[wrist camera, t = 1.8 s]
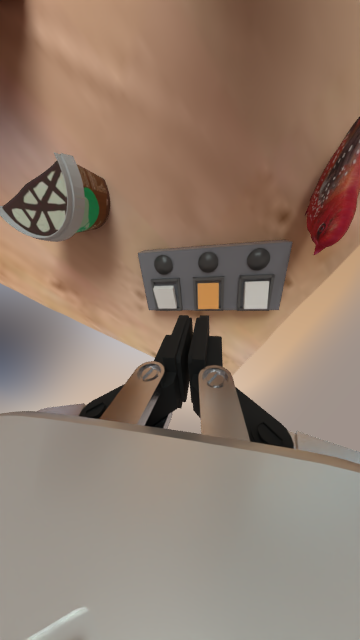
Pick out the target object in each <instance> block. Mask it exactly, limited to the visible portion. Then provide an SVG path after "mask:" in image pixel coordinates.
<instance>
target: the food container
mask: <svg viewBox="0 0 360 640" xmlns="http://www.w3.org/2000/svg"><path fill="white" fill-rule="evenodd" d="M54 154H55V156H56V159H57V161H56V162H55V163H54V164H53V165H52V166H51V167H50V168H49V169H48V170H46V171H45V172H44V173H42V174H41V175H40V176H38V177H36V178H35V179H33V180H32V181H30V182H29V183H27V184H26V185H25V186H24V187H23V188H22V189H21V190H20V192H19V193H18V194H17V195H16V196H15V197H14V198H13V199H11V200H10V201H9V202H8V203H7V204H5V205H4V206H0V216H1V217H2V218H3V219H4V220H5V221H6V222H7V223H9V224H10V225H11V226H12V227H14V228H15V229H16V230H18V231H20V232H22V233H23V234H26V235H28V236H31V237H33V238H36V239H40V240H46V241H56V242H59V241H64V240H66V239H69V238H70V237H72V236H73V235H74V234H75V233H77V232H82V231H87V230H92V229H97V228H99V227H100V226H102V225H103V224H104V223H105V221H106V219H107V217H108V215H109V210H110V197H109V192H108V188H107V185H106V183H105V180H104V179H103V178H101V177H99V176H97V175H96V174H94V173H92V172H90V171H88V170H87V169H85V168H83V167H81V166H79V165H78V164H76V162H75V160H74V157H73V156H70V155H66V154H62V153H61V154H57V153H54Z"/></svg>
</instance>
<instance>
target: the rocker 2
mask: <svg viewBox="0 0 360 640" xmlns="http://www.w3.org/2000/svg"><path fill="white" fill-rule="evenodd" d="M268 291H269V281H253V282H245V284H244V304H243V308H244V309H267V303H268Z"/></svg>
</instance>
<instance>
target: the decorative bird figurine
mask: <svg viewBox="0 0 360 640" xmlns="http://www.w3.org/2000/svg"><path fill="white" fill-rule="evenodd" d="M359 192H360V117H359V118H358V119H357V121H356V122H355V123H354V125H353V126H352V127H351V129H350V130H349V132H348V134H347V135H346V137H345V138H344V140H343V141H342V143H341V144H340V146H339V147H338V149H337V150H336V152H335V153H334V155H333V156H332V158H331V159H330V161H329V163H328V164H327V166H326V168H325V169H324V171H323V173H322V175H321V177H320V179H319V181H318V183H317V186H316V188H315V190H314V192H313V194H312V196H311V199H310V204H309V206H308V209H307V211H306V214H307V228H308V231H309V232H310V234H311V238H312V241H313V242H314V243H315V244H316V247H315V251H314V255H316V254H317V253H319V252H320V251H321V250H323V249H324V248H326V247H329V246H332V245H333V244H335V243H337V242H338V241H339V240H340V239H341V238H342V237H343V236H344V234H345V233H346V232H347V230H348V228H349V226H350V224H351V222H352V219H353V217H354V214H355V211H356V204H357V197H358V194H359ZM307 212H308V213H307ZM306 214H305V215H306Z"/></svg>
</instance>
